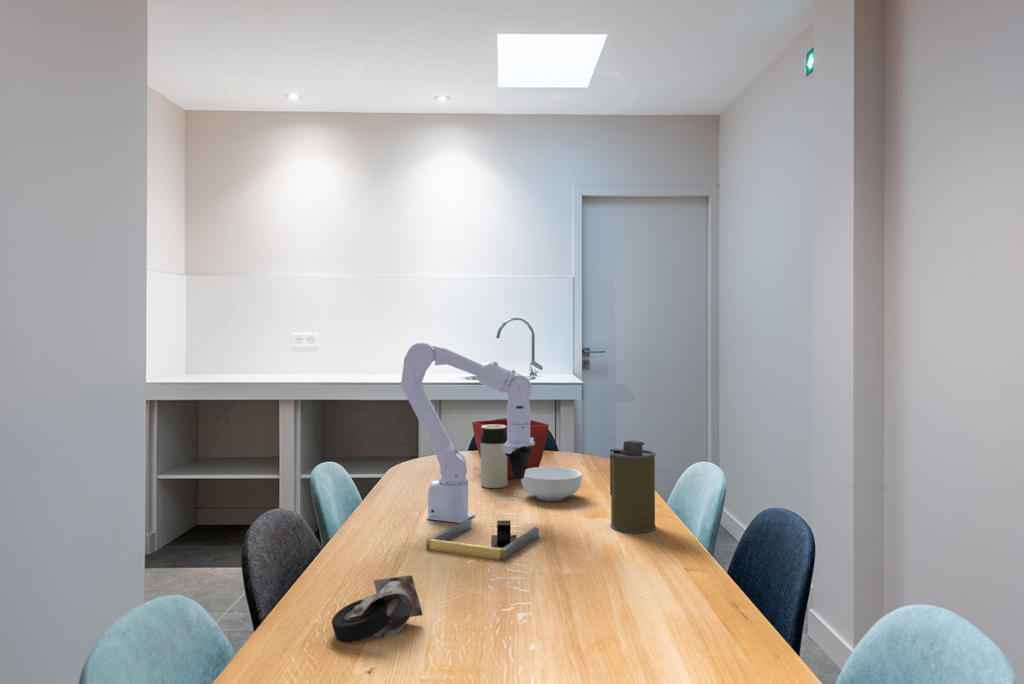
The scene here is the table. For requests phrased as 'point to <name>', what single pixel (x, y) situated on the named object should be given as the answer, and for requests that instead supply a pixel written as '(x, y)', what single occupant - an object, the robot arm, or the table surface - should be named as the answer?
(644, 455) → the canister
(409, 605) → the caster wheel
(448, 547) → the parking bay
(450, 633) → the table surface
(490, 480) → the travel mug
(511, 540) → the build plate
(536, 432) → the plant pot
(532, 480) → the cereal bowl
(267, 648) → the table surface
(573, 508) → the table surface
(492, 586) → the table surface
